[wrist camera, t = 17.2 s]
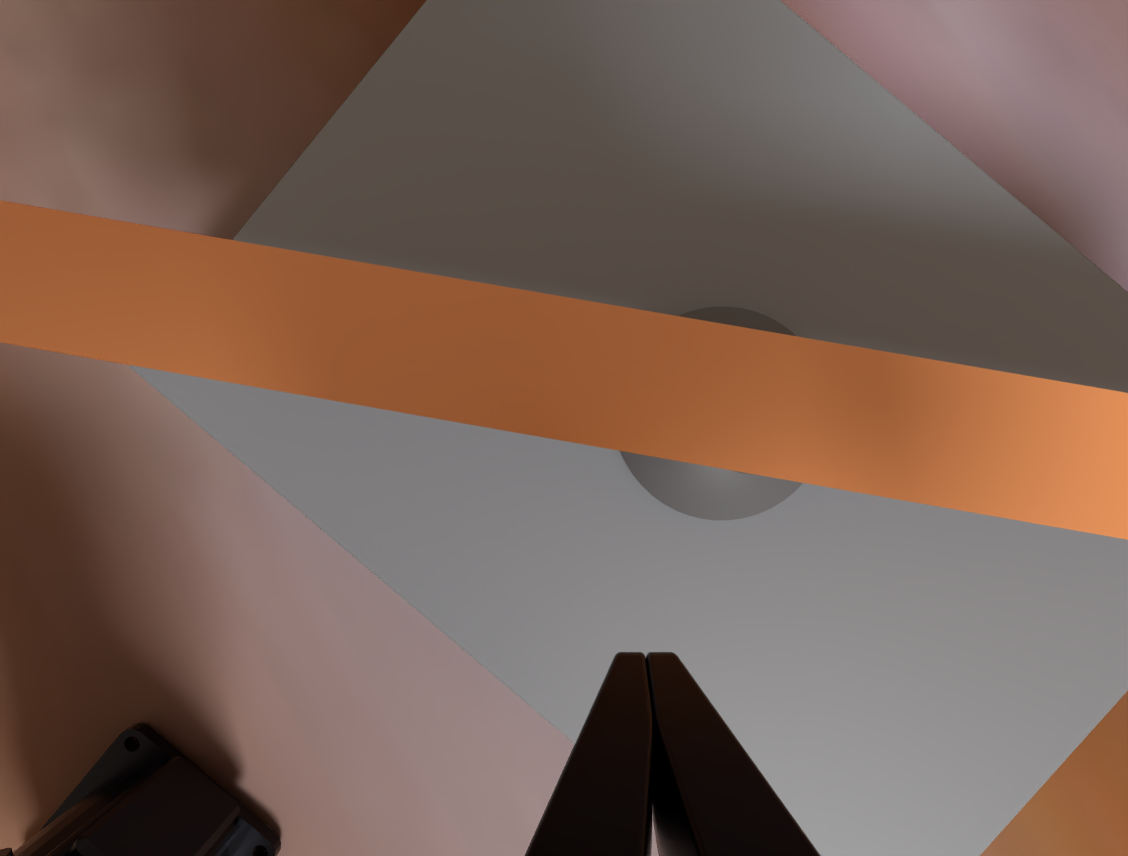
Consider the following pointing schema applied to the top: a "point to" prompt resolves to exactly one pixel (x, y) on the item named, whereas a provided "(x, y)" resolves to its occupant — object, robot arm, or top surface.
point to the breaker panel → (690, 491)
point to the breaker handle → (567, 369)
